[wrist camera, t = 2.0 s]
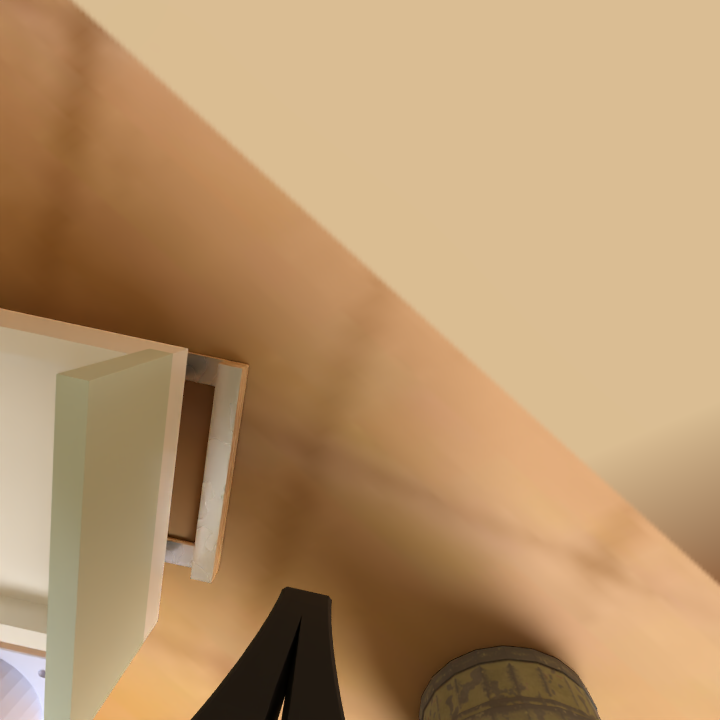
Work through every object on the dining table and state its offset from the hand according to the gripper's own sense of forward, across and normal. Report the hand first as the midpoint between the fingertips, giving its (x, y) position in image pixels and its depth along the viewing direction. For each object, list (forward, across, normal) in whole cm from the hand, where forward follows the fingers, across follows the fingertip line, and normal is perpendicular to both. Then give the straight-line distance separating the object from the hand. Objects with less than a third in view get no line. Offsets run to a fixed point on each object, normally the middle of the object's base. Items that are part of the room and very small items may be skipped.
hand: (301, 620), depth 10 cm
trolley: (+6, +12, 0) cm, 14 cm away
